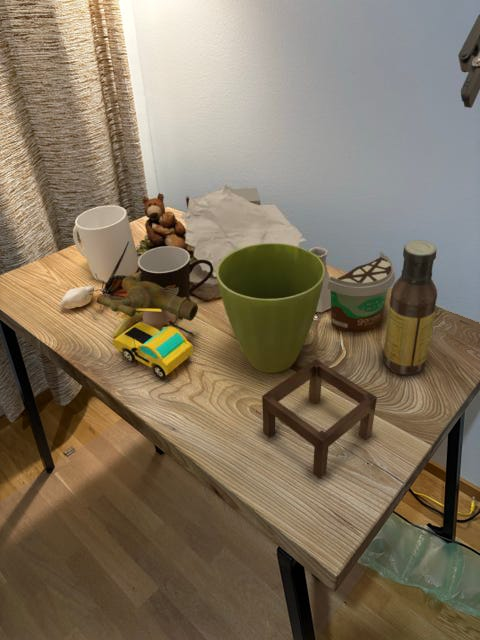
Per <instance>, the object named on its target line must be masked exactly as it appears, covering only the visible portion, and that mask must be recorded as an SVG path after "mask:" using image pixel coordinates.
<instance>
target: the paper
mask: <svg viewBox="0 0 480 640" xmlns="http://www.w3.org/2000/svg"><path fill="white" fill-rule="evenodd" d="M231 188H232V187H231V186H228V185H227V184H225V185H224V186H223V187H222V188H220V189H218V190H217V191H206V194H205V195H201V196H196V197H195V198H189V204H188V209H187V210H186V211H185V212H182V213H181V215H180V218H181V219H184V222H185V224H186V226H185V229H186V240H185V243H187V244H188V245H191V246H194V247H195V250H194V257H195V258H196V259H198V260H207V261H210V262H211V263H212V266H213V273H212V274H213V276H214V277H217V276H216V269H217V266H218V264H219V263H220V261H221V260H222V259H223V258H224V257H225V256H226V255H228V254H229V253H231V252H233V251H235V250H237V249H240V248H242V247H246V246H249V245H254V244H261V243H283V244H290V245H294V246H298V247H300V243H304V242H307V239H306V238H302V237H303V234H302V233H301V231H300V230H299V229H298V228H297V227H295V226H294V225H292V223H291V222H290V221H289V220H288V219H287V217H285V215H284V214H283V213H282V212H281V210H280V209H279V208H278V207H277V206H276V205H275V204H264V205H261V204H260V205H256V204H254V203H250V202H249V201H248V200H246V199H244V198H242V197H240V196H238V195H236V194H233V193H231V192H230V189H231ZM199 265H200V266H201V268H202V271H204V270H206V271H207V272H208V273H209V272H210V266H209V265H207V264H205V263H200V264H199Z"/></svg>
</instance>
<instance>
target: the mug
mask: <svg viewBox="0 0 480 640" xmlns="http://www.w3.org/2000/svg"><path fill="white" fill-rule="evenodd" d="M129 220H130V219H129V216H128V212H127V210H126V209H125V207H122V206H120V205H114V204H113V205H112V204H111V205H110V204H109V205H107V204H106V205H100V206H96V207H92V208H90V209H88V210H85V211H83V212H82V213H80V214H79V215H78V216H77V217H76V218H75V221H74V223H75V225H74V227H73V229H72V238H73V242H74V246H75V247H76V249H77V251H78V252H79V254H80V256H82V257H83V258H84V259H86V261H87V264H88V267H89V270H90V274H91V275H92V277H93V278H94V279H95V280H97V278H98V279H99V280H98V282H102V283H103V281H104V283H107V282H108V280H109V278H110V276H111V274H112V272H113V271H114V269H115V267H116V265H117V263H118V261H119V259H120V257H121V256H122V254H123V252H124V250H125V247H126V245H127V243H128V241H129V243H128V246H127V249H126V251H125V254H124V256H123V258H122V261H121V263H120V265H119V268H118V269H117V271H116V273H115V275H114V276H117V275H124V276H129V275H132V274H135V273H137V271H138V269H139V265H138V255H137V251H136V250H137V246H136V243H135V240H134V235H133V232H132V228H131V223H130V221H129ZM78 236H79V239H80V242H81V244H80V243H79V239H78ZM96 275H97V277H96ZM111 277H112V276H111ZM100 280H103V281H100Z"/></svg>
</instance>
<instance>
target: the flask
mask: <svg viewBox="0 0 480 640" xmlns="http://www.w3.org/2000/svg"><path fill="white" fill-rule="evenodd" d="M308 251H310V252H312V253H313V254H315V255H316V256H317V257H319V258H320V260H321V261H322V262H323V264H324V267H325V275H324V280H323V285H322V289H321V294H320V298H319V302H318V306H317V310H316V313H324V312H326V311H328V310H331V290H329V289H327V288H328V283H329V280H330V277H331V276H330V275H329V271H328V267H327V261H326V260H327V257H328V256H327V255H328V254H329V250H328V249H326V248H324V247H321V246H314V247H311V248H309V250H308Z"/></svg>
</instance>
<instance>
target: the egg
mask: <svg viewBox="0 0 480 640" xmlns="http://www.w3.org/2000/svg"><path fill="white" fill-rule="evenodd" d="M161 311H162V312H161ZM161 311H144V312H142V313H143V317H142V322H144V323H146V324H148V325H150V326H152V327H154V328H156V329H158V330H159V331H161V330H162V328H163V325H165V324H166V325H168V326H169V327H173V325H170V323H169V321H172V322H173V323H175V322H176V320H177V318H176V315H174V314H171V313H169V311H167V310H164V309H161Z"/></svg>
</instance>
